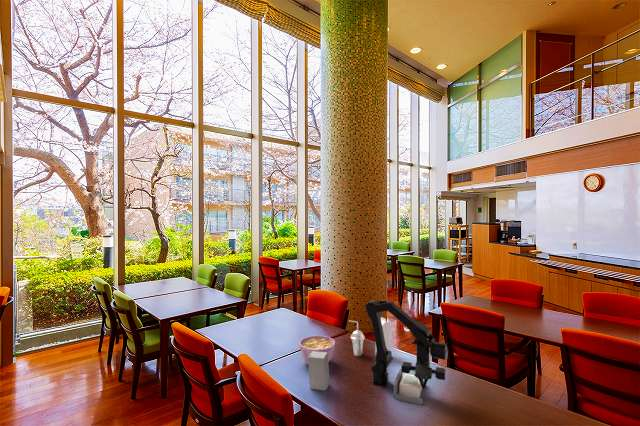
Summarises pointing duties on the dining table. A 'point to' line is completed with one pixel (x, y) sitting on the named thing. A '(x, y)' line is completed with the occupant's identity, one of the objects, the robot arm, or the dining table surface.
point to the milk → (385, 334)
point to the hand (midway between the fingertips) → (423, 389)
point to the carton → (410, 386)
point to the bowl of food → (316, 346)
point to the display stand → (400, 396)
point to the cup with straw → (357, 341)
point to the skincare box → (318, 370)
